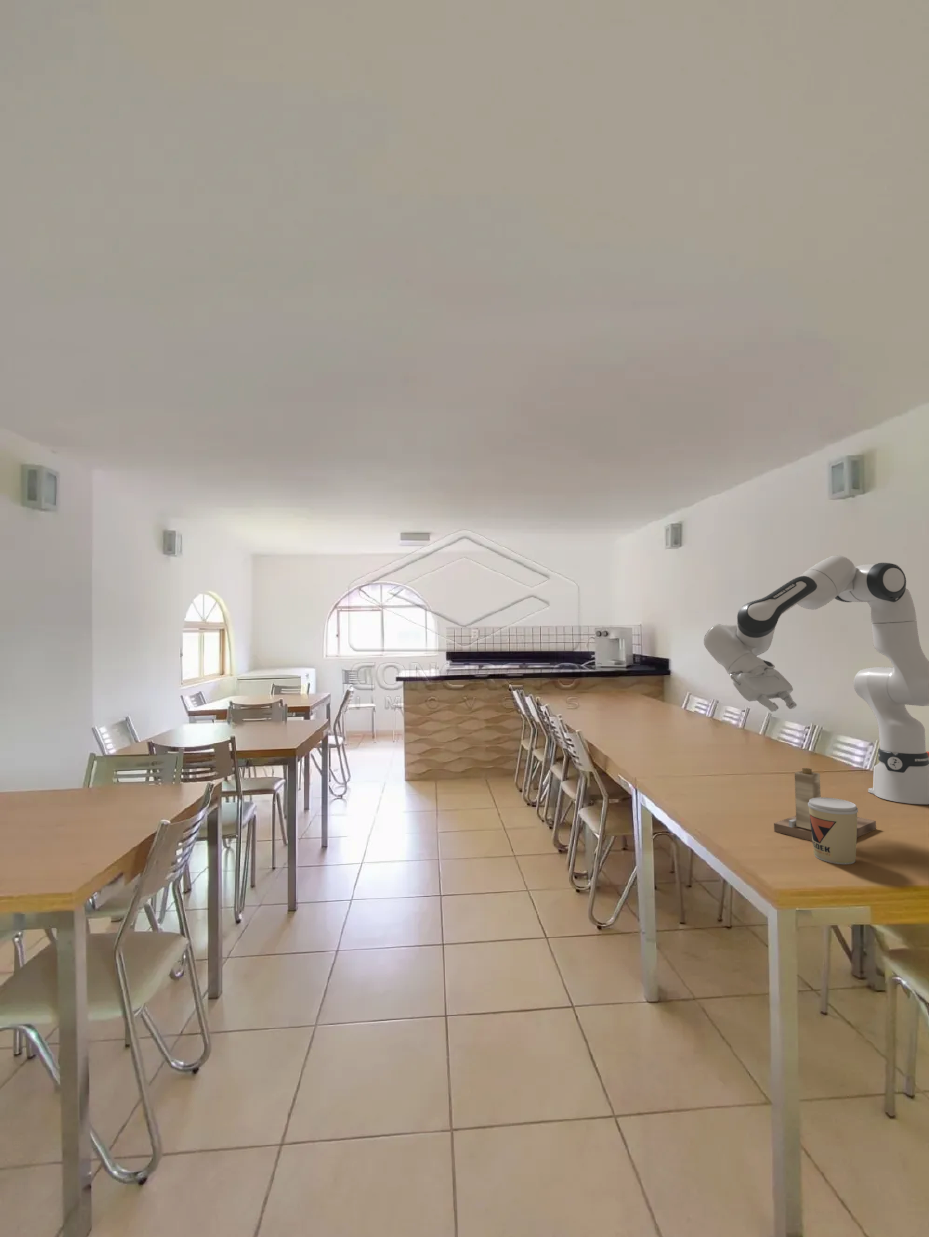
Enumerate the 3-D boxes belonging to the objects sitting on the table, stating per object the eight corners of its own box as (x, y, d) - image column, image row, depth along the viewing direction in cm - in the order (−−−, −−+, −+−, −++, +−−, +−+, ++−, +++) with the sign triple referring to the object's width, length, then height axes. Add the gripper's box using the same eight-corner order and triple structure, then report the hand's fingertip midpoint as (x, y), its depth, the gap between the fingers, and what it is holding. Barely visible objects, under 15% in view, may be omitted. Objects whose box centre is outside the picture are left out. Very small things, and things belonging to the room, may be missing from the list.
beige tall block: (804, 823, 145) (802, 766, 145) (825, 828, 141) (823, 769, 141) (796, 826, 142) (794, 768, 143) (817, 831, 139) (815, 772, 139)
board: (817, 815, 158) (816, 802, 158) (876, 828, 147) (875, 814, 147) (774, 831, 146) (773, 817, 146) (834, 847, 134) (834, 831, 135)
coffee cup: (800, 851, 132) (798, 797, 133) (839, 849, 133) (837, 796, 133) (828, 866, 123) (826, 809, 123) (870, 864, 124) (868, 807, 124)
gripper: (734, 664, 157) (772, 703, 148) (774, 662, 168) (811, 698, 159) (719, 680, 160) (756, 719, 151) (760, 677, 172) (795, 713, 163)
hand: (785, 708), depth 156 cm, fingers open, 8 cm apart
